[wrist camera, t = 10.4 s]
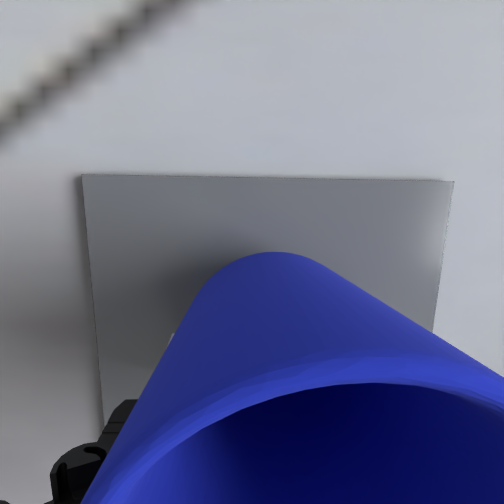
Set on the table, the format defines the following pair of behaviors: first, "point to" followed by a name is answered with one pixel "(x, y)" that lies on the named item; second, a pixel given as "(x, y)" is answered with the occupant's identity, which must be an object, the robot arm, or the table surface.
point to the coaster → (245, 250)
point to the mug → (306, 402)
